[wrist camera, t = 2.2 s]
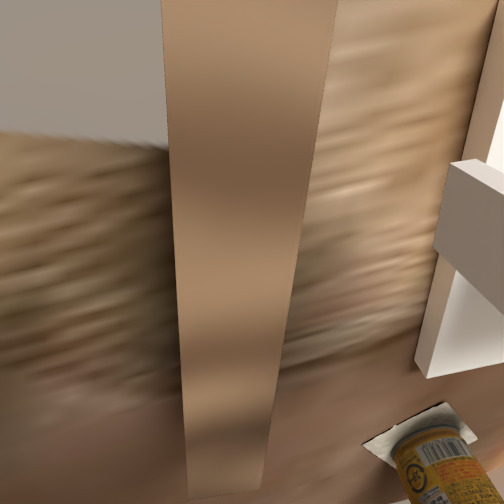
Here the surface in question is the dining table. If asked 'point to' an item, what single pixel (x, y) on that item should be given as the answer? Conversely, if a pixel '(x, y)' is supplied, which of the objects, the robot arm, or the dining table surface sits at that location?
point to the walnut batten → (238, 212)
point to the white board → (446, 276)
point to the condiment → (436, 459)
